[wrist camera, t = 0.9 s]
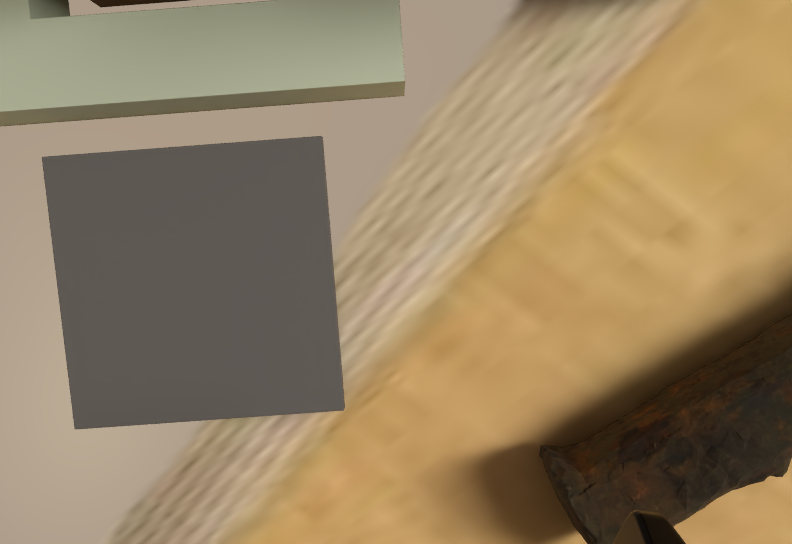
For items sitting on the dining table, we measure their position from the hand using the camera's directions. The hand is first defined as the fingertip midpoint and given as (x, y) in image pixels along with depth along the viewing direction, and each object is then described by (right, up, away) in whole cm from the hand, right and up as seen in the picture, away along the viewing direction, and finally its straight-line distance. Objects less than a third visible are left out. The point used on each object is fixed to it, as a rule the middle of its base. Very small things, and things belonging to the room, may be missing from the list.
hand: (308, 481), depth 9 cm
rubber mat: (-5, +3, +13) cm, 14 cm away
